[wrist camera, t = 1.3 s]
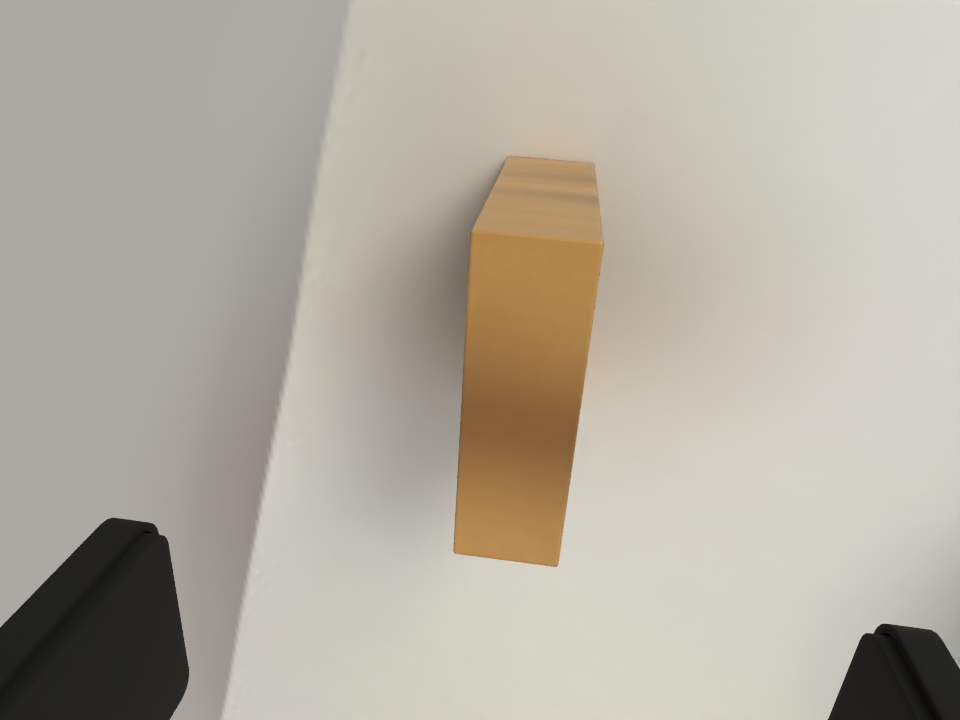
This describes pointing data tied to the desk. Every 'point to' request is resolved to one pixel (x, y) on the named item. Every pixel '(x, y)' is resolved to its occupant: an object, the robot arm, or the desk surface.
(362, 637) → the desk surface
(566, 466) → the golden wooden block
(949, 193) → the desk surface
